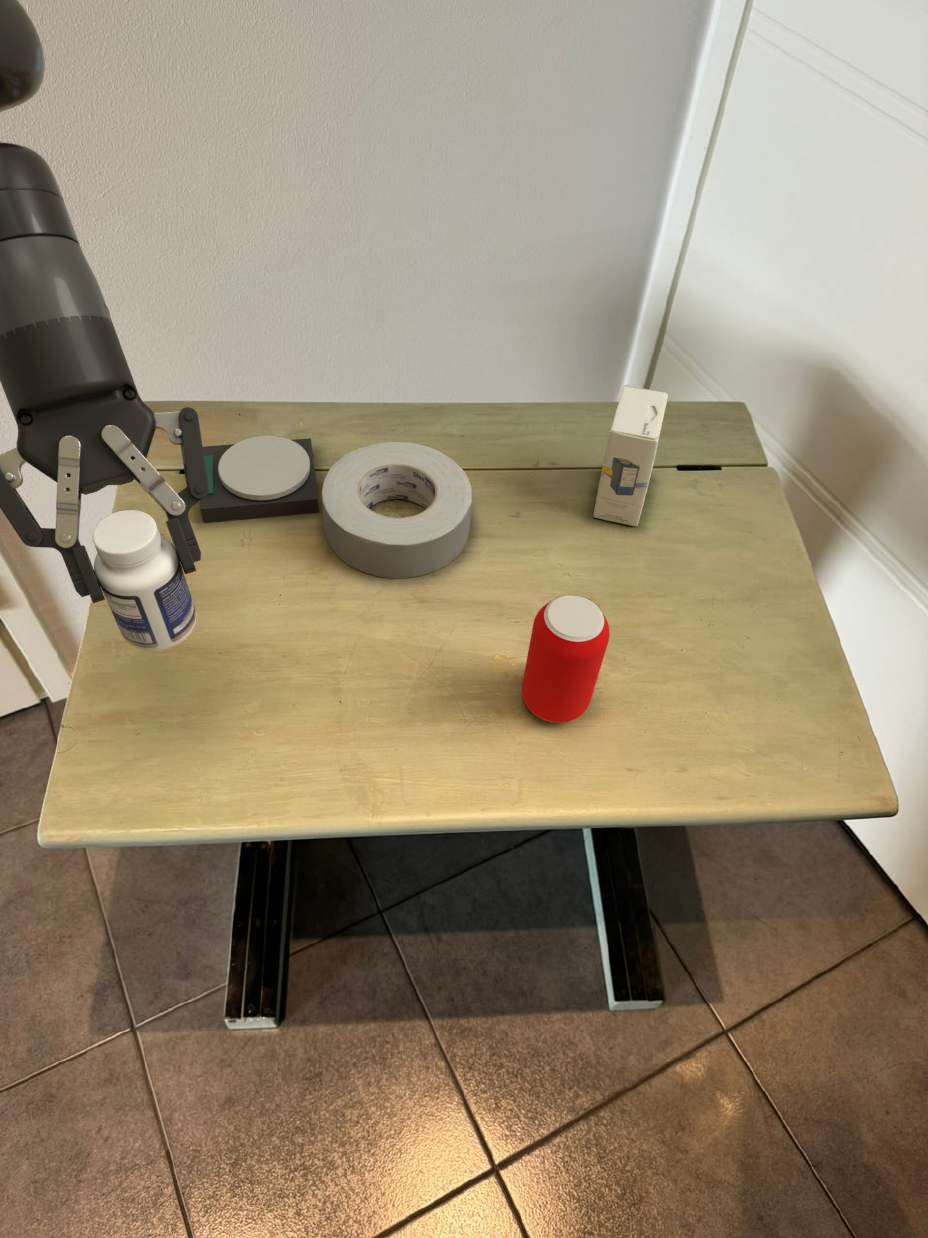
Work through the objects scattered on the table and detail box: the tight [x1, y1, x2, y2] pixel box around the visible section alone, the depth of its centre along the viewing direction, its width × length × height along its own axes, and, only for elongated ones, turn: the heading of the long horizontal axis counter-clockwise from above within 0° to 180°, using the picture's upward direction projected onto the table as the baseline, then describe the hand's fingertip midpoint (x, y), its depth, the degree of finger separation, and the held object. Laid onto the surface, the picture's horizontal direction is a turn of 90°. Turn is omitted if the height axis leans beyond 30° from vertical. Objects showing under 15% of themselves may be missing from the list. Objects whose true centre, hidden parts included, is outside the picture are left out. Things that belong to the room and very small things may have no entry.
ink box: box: [593, 384, 669, 527], centre depth 88 cm, size 9×5×12 cm, turn 164°
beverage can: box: [521, 594, 611, 723], centre depth 71 cm, size 6×6×12 cm
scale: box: [199, 435, 320, 524], centre depth 90 cm, size 12×10×3 cm
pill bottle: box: [91, 509, 197, 652], centre depth 57 cm, size 5×5×10 cm
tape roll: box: [321, 441, 473, 579], centre depth 86 cm, size 15×15×5 cm
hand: (145, 585), depth 55 cm, fingers closed on pill bottle, 5 cm apart
